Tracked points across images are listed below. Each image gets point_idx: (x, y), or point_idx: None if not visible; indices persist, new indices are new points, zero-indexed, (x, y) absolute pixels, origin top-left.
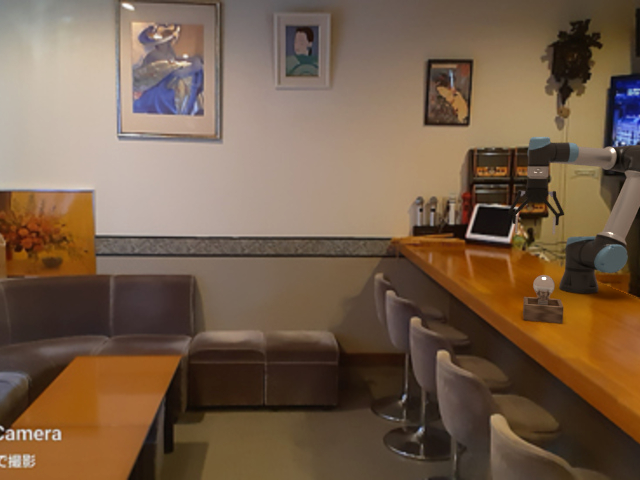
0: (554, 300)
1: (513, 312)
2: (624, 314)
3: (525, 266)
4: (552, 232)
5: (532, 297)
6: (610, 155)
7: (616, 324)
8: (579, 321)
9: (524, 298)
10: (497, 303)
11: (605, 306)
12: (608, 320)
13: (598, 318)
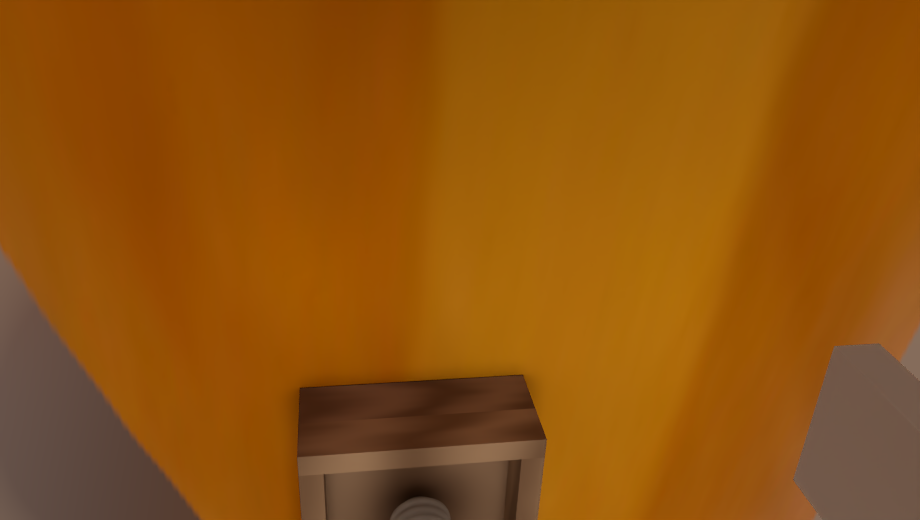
0: (503, 455)
1: (240, 425)
2: (917, 238)
3: None
4: (834, 424)
5: (358, 455)
6: None
7: (773, 456)
8: (603, 470)
9: (303, 499)
10: (89, 225)
11: (897, 44)
12: (764, 400)
13: (724, 379)
